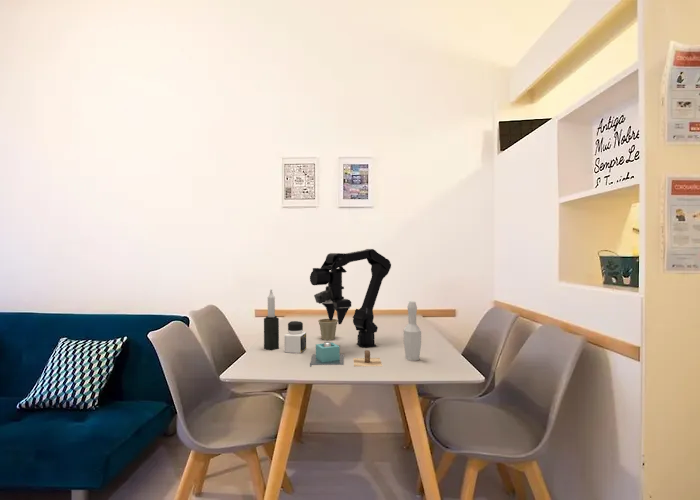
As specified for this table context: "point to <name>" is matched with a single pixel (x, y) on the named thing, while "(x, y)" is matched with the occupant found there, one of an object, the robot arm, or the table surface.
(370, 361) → the stand
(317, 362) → the silver peg base
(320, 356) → the collar
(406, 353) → the grey bottle
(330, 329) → the flower pot
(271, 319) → the black and white bottle
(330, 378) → the table surface
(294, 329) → the medicine bottle
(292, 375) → the table surface
